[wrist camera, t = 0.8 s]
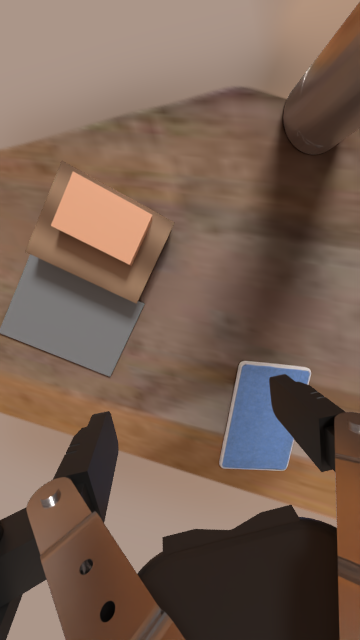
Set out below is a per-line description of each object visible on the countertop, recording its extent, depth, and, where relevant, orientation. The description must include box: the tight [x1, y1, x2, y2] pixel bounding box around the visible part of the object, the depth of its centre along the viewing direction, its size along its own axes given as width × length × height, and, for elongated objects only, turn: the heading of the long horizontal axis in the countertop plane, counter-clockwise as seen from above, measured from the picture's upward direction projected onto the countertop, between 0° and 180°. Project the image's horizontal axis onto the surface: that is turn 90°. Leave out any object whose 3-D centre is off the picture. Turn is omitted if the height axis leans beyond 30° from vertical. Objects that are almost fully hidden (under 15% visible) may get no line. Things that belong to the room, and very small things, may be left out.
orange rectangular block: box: [51, 172, 152, 266], centre depth 27 cm, size 6×9×2 cm, turn 63°
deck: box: [25, 161, 175, 304], centre depth 30 cm, size 11×14×4 cm
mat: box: [0, 254, 144, 377], centre depth 33 cm, size 12×16×1 cm
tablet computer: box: [219, 361, 311, 471], centre depth 40 cm, size 19×13×1 cm, turn 171°
